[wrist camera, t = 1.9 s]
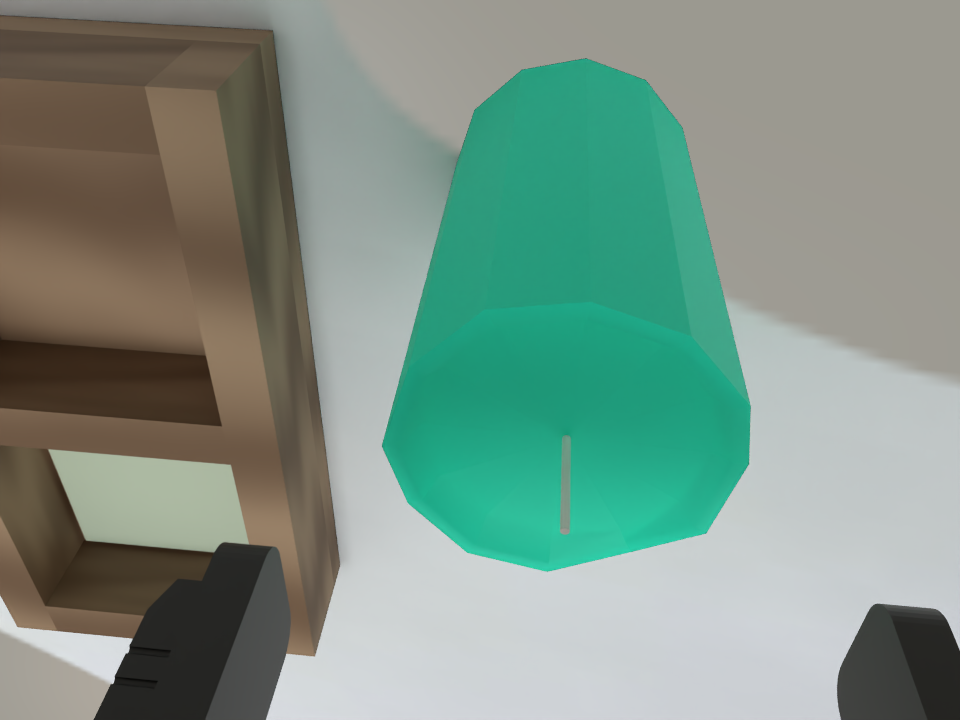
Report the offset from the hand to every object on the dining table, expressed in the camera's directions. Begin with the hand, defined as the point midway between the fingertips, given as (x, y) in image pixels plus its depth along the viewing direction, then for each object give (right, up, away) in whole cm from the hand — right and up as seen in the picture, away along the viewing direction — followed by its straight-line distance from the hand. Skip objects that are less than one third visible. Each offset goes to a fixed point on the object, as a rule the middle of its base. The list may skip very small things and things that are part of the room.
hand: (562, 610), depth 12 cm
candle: (+1, +8, +10) cm, 13 cm away
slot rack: (-12, +4, +15) cm, 20 cm away
